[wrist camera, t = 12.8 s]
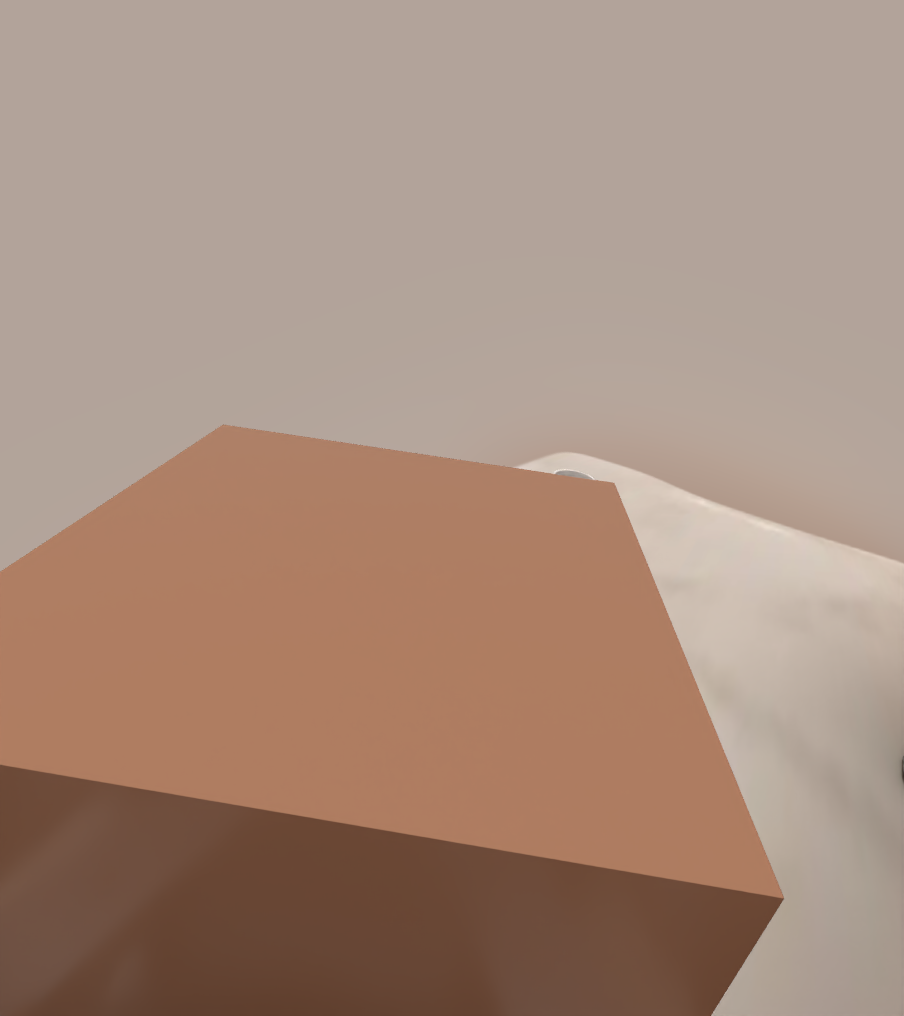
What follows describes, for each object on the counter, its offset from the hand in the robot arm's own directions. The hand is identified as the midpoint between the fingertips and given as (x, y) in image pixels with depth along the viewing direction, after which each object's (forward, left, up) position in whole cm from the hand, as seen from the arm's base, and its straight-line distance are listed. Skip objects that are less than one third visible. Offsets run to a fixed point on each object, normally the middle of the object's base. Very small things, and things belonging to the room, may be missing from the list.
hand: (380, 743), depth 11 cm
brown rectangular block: (-1, +2, -7) cm, 7 cm away
